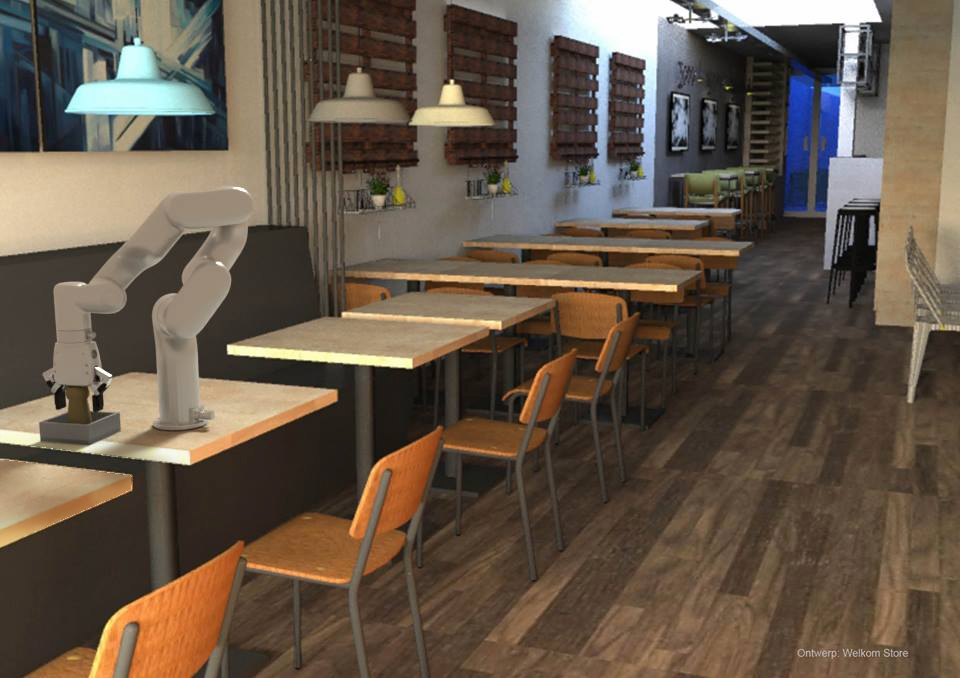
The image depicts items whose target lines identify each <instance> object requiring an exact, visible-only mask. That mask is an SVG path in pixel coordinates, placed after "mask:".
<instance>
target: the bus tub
mask: <svg viewBox="0 0 960 678" xmlns="http://www.w3.org/2000/svg"><path fill="white" fill-rule="evenodd" d="M90 413H91V418H92V423H90V424H72V423H67V418H68V410H67V411H65V412H63V413H60V414H57V415H54V416H51V417H50V418H47V419H45V420H44V419H43V420H42V421H39V422H38V425H39V438H40V440H39V441H40V442H41V443H56V444H70V445H85V446H86V445H87V446H90V445H93V444H95V443H97V442H99V441H103V440H104V439H106V438H108V437H110V436H113V435H115V434H117V433H118V434H119V432H121V429H122V427H121V426H122V425H121V424H122V423H121V414H120V413H121V412H120V411H106V410H105V411H104V410H101V411H98V412H94V411H93V410H90Z"/></svg>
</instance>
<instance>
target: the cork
mask: <svg viewBox="0 0 960 678" xmlns="http://www.w3.org/2000/svg"><path fill="white" fill-rule="evenodd" d="M90 393H91V391H90V388H89V387H82V386H67V387H66V389H65V394H66V400H68V406H67V411H68V418H67V423H72V424H90V423H92V418H91V413H90V411H91V410H90V405H89V404H90V403H89V400H88V399H89V397H90Z"/></svg>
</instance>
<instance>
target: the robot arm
mask: <svg viewBox="0 0 960 678" xmlns="http://www.w3.org/2000/svg"><path fill="white" fill-rule="evenodd" d="M254 209H255V202H254V199H253V197H252V195H251V193H249V192H248V191H247V190H246V189H245V188H242V187H239V186H232V185H222V186H218V187H217V188H215V189H211V190H203V191H202V190H198V191H183V190H182V191H181V190H180V191H179V190H177V191H176V190H175V191H172V192H170V193H168V194H167V195H166V196H165V197H164V198H162V200H161V201H160V202H159V203H158V204H157V206H156V207H155V208H154V209H153V210H152V212H151V213H150V214H149V215H148V216H147V218H146V219H145V220H144V222H143V223H142V224H141V225H140V226H139V227H138V228H137V230H135V232H134V233H133V234H132V235H131V236H130V237H129V238H128V239H127V240H126V241H125V242H124V244H122V246H120V248H118V250H116V251H115V252H114V253H113V254H112V255H111V256H110V257H109V258H108V260H107V261H106V262H105V263H104V264H103V266H101V268H100V269H99V270H98V271H97V273H96V274H95V275H94V276H93V277H92V279H91V280H90V281H89V283H85V282H82V281H64V282H59V283H57V284H55V285H54V288H53V303H54V318H55V319H54V320H55V328H56V329H55V331H56V342H55V343H54V349H53V358H52V359H53V361H52V362H53V363H52V364H53V366H52V367H51V368H49V369H47V370H46V371H44V372H42V377H43V378H44V381H45V382H46V385H47V386H48V387H49V388H50V391H51V393H53V397H54V398H53V399H54V406H55V410H56V411H59V410H62V409H64V408H66V407H67V397H66V389H65V387H66V386H67V387H69V386H82V387H88V388H89V390H91V392H92V393H93V394H92V396H91V400H92V411H94V412H98V411H104V405H105V404H104V402H105V401H104V400H105V399H104V393H106V390H107V389H109V387H110V384H111V383H112V382H111V381H112V379H113V375H112V374H110V373H109V372H107V371H105V370H104V369H103V368H102V362H101V357H100V351H99V348H98V345H97V342H96V341H94V340H93V339H95V338H96V337H97V333H96V332H93V329H92V316H91V314H104V315H105V314H107V315H108V314H109V315H110V314H116V313H118V312H120V311H121V310H122V309H123V308H124V307H125V306H126V303H127V301H128V300H127V297H128V296H127V293H126V289H127V288H128V287H129V286H130V285H131V284H132V283H133V281H134V280H135V279H136V278H137V277H138V276H140V274H142V273H143V272H144V271H145V270H147V269H149V268H151V267H153V266H156V264H159V262H161V261H162V260H163V259H164V258H165V256H167V254H168V253H169V252H170V250H171V249H172V248H173V247H174V246H175V244H176V243H177V242H178V241H179V240H180V238H181V237H182V236H183V235H184V234H185V233H186V231H187V230H198V229H199V230H200V229H209V228H211V230H210V232H209V235H208V236H207V238H206V239H205V240H204V242H203V244H202V245H201V246H200V248H199V249H198V250H197V252H196V253H195V254H194V255H193V257H192V258H191V259H190V261H189V262H187V264H186V265H185V267H184V269H183V271H182V274H181V282H182V285H183V286H181V288H180V290H178V292H177V293H173V292H172V293H168V294H167V293H166V294H165V295H163V296H161V297H159V299H157V301H155V304H154V305H153V308H152V313H151V319H152V327H153V334H154V335H153V336H154V343H155V356H156V357H155V359H156V374H157V375H156V376H157V394H158V411H159V417H157V418H155V419H154V420H153V421H152V424H153V427H154V428H156V429H158V430H163V431H185V430H186V431H187V430H191V429H192V430H193V429H198V428H200V427H203V426H205V425H207V424H208V421H213V420H214V419H215V410H206V409H205V404H204V403H203V404H202V403H201V400H200V399H201V396H200V394H201V393H200V376H199V375H200V373H199V354H198V353H199V352H198V351H199V350H198V342H197V335H199V333H200V332H201V331H202V330H203V329H204V328H205V326H206V325H207V323H208V322H209V321H210V319H211V318H212V317H213V315H214V314H215V313H216V312H217V310H218V308H219V307H220V306H221V304H222V303H223V301H224V300H225V299H226V297H227V295H228V293H229V292H230V288H231V284H232V275H231V273H230V270H231V269H232V267H233V266H234V264H235V262H236V261H237V260H238V258H239V256H240V255H241V253H242V251H243V249H244V248H245V245H246V243H247V238H248V231H249V226H248V220H249V219H250V218H251V216H252V215H253V213H254ZM101 382H102V383H101Z"/></svg>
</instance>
